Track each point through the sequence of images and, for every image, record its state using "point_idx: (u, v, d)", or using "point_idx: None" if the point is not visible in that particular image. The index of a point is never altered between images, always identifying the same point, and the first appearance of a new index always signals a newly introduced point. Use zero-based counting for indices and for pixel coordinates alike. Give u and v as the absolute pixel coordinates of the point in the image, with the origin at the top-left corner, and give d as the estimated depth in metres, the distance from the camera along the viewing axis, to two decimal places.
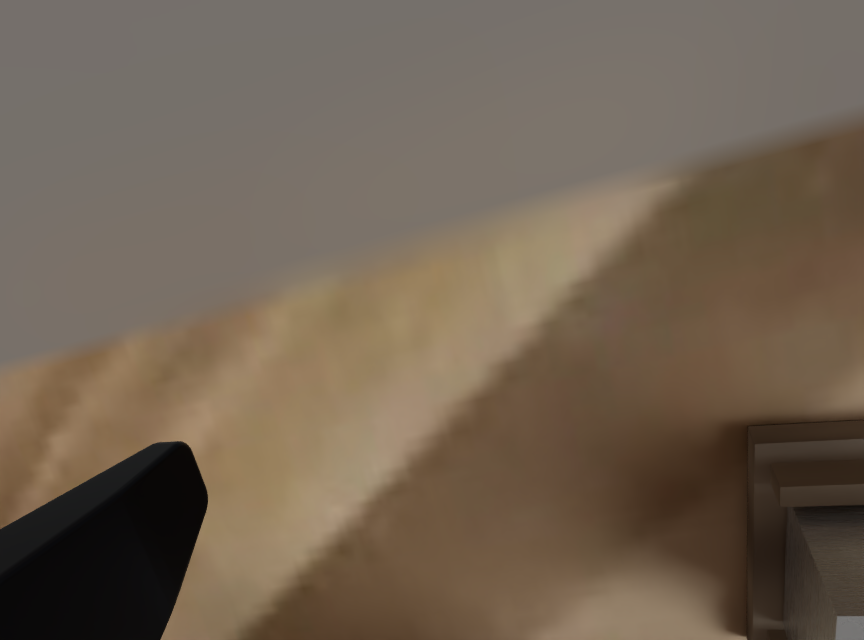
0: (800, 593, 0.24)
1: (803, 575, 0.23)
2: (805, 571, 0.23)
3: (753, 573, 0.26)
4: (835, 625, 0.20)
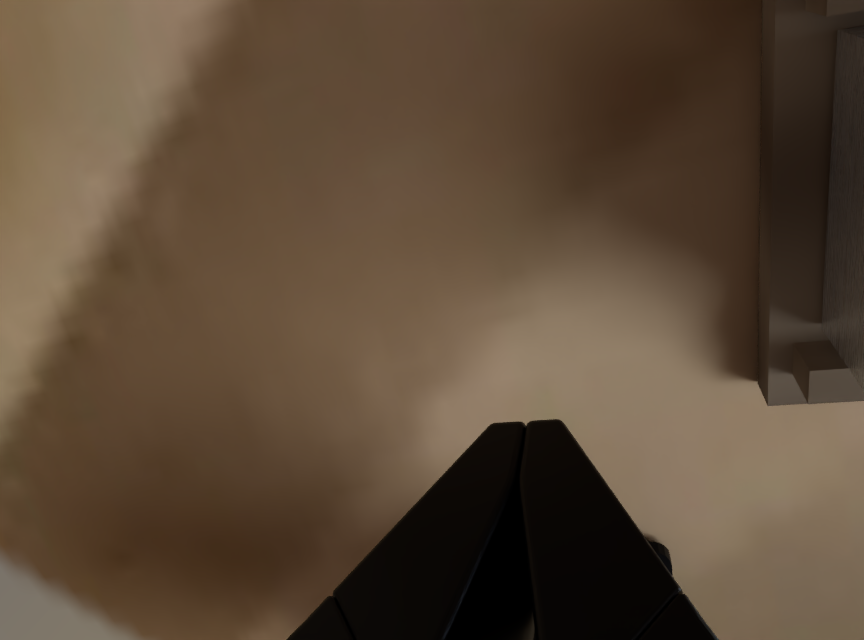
0: (863, 197, 0.13)
1: None
2: None
3: (771, 226, 0.15)
4: None
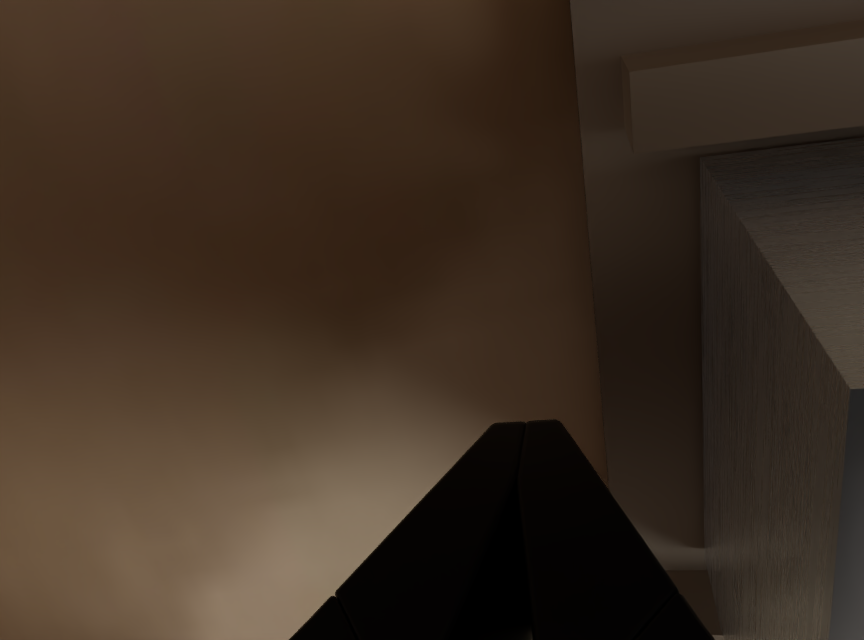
0: (730, 433, 0.08)
1: (734, 362, 0.07)
2: (738, 340, 0.07)
3: (604, 421, 0.10)
4: (843, 444, 0.04)
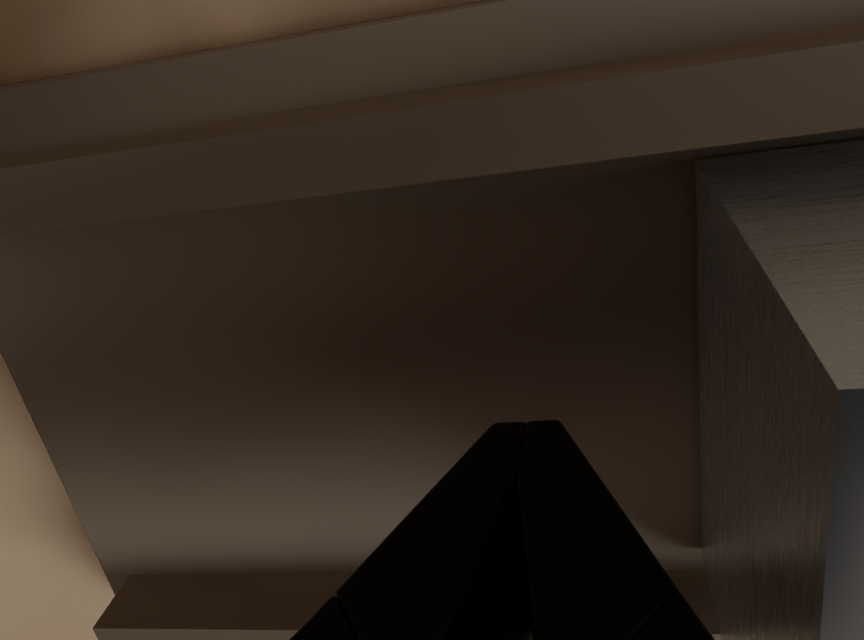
0: (725, 433, 0.08)
1: (729, 363, 0.07)
2: (733, 341, 0.07)
3: (51, 450, 0.12)
4: (833, 444, 0.04)
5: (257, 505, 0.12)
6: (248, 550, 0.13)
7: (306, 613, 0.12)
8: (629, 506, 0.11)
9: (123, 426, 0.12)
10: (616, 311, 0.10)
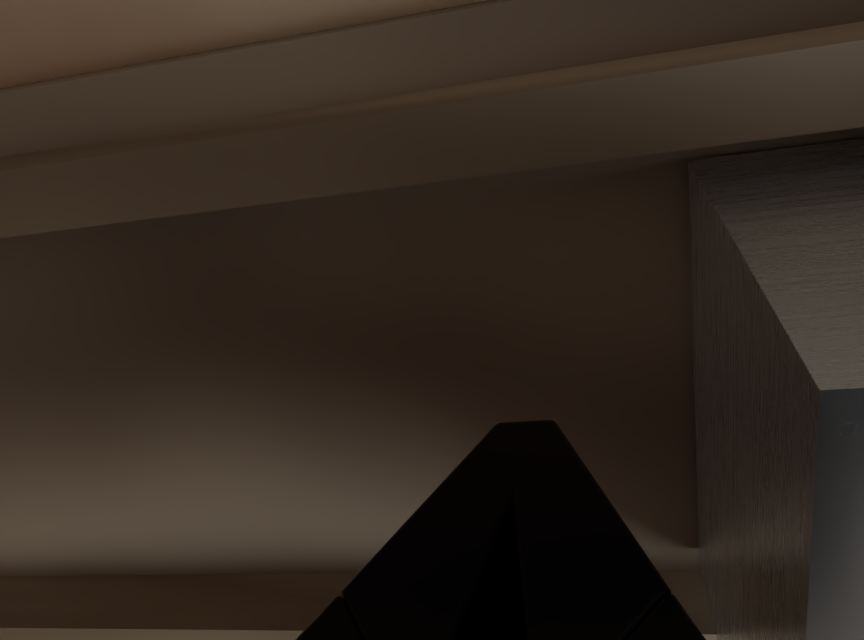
0: (718, 434, 0.08)
1: (721, 363, 0.07)
2: (724, 341, 0.07)
3: None
4: (814, 445, 0.04)
5: None
6: None
7: None
8: (200, 518, 0.12)
9: None
10: (136, 352, 0.11)
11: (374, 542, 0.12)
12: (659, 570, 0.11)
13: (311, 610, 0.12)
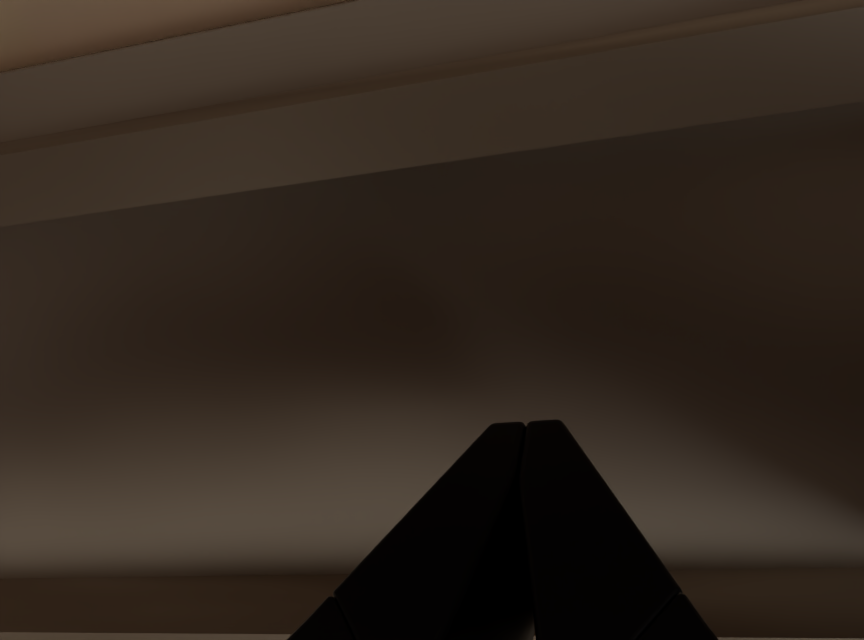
0: None
1: None
2: None
3: None
4: None
5: (31, 513, 0.13)
6: (33, 556, 0.13)
7: (73, 616, 0.12)
8: (358, 513, 0.11)
9: None
10: (306, 330, 0.10)
11: None
12: None
13: None
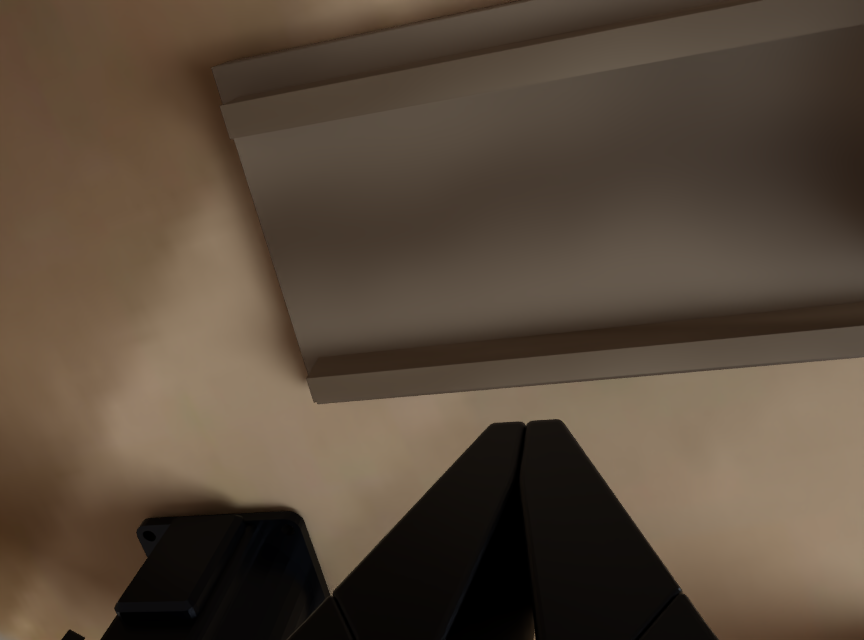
0: None
1: None
2: None
3: (278, 274, 0.21)
4: None
5: (403, 300, 0.20)
6: (395, 333, 0.21)
7: (435, 360, 0.20)
8: (623, 283, 0.19)
9: (325, 253, 0.20)
10: (611, 161, 0.18)
11: (745, 290, 0.19)
12: None
13: (709, 332, 0.19)
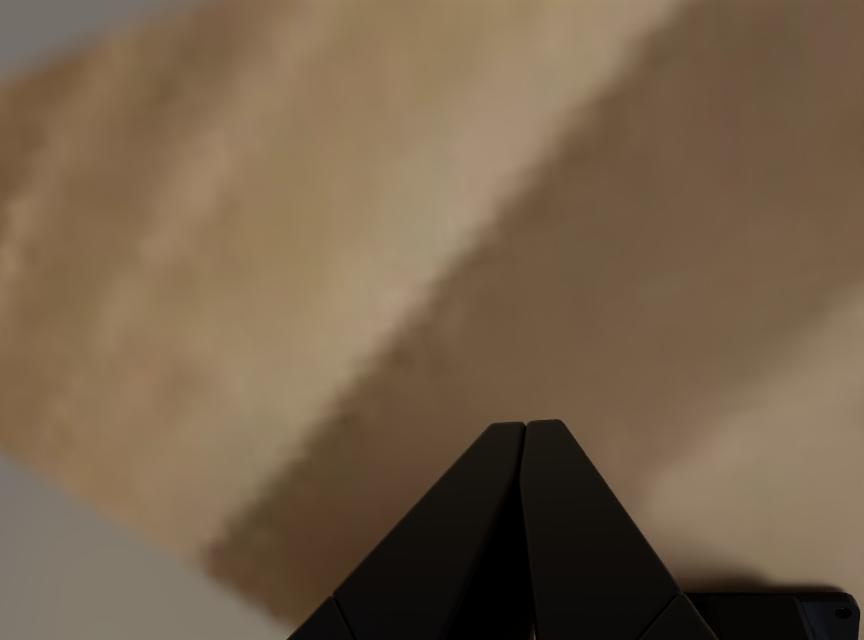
0: None
1: None
2: None
3: None
4: None
5: None
6: None
7: None
8: None
9: None
10: None
11: None
12: None
13: None
